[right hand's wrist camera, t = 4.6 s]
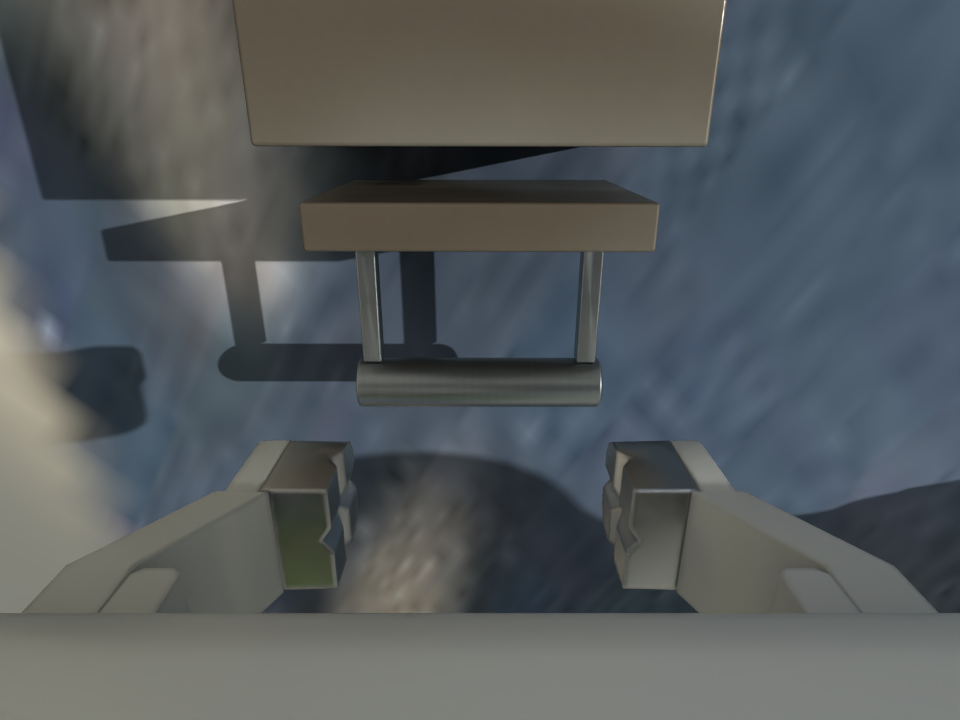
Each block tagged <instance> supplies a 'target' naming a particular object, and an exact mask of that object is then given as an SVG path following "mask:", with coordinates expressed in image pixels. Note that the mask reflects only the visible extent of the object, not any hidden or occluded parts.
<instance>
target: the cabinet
mask: <svg viewBox="0 0 960 720" xmlns="http://www.w3.org/2000/svg"><path fill="white" fill-rule="evenodd" d="M232 1H233V8H234V16H235V23H236V31H237V38H238V46H239V53H240V61H241V68H242V76H243V83H244V91H245V98H246V106H247V113H248V121H249V128H250V136H251V142H252V144H253V145H255V146H447V147H704V146H706V145H707V143H708V136H709V129H710V122H711V114H712V107H713V100H714V92H715V85H716V78H717V70H718V63H719V55H720V48H721V41H722V33H723V26H724V19H725V11H726V4H727V0H232Z"/></svg>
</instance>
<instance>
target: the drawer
mask: <svg viewBox="0 0 960 720" xmlns="http://www.w3.org/2000/svg"><path fill="white" fill-rule="evenodd" d="M659 210H660V205H659V203H656V202H654V201H652V200H649V199H647V198H645V197H643V196H640V195H638V194H636V193H633V192H631V191H629V190H626V189H624V188H622V187H619V186H617V185H615V184H612V183H610V182H608V181H605V180H353V181H350V182H348V183H346V184H343V185H341V186H338V187H336V188H334V189H331V190H329V191H327V192H324V193H322V194H320V195H317V196H315V197H313V198H310V199H308V200H306V201H303V202H301V203H300V204H299V211H300V220H301V229H302V238H303V248H304V250H305V251H355V256H356V269H357V282H358V295H359V308H360V321H361V334H362V347H363V358H361V359H360V360H359V363H358V366H357V373H356V393H357V399H358V402H359V405H360V406H447V407H596V406H598V405H599V404H600V401H601V396H602V370H601V365H600V362H599V360H598V359H597V358H595V356H596V344H597V331H598V319H599V306H600V293H601V281H602V268H603V256H604V252H652V251H654V250H655V246H656V237H657V228H658V219H659ZM378 251H401V252H581V256H580V271H579V286H578V302H577V317H576V332H575V348H574V357H575V358H383V357H384V341H383V325H382V309H381V293H380V277H379V261H378Z"/></svg>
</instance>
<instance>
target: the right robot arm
mask: <svg viewBox="0 0 960 720" xmlns="http://www.w3.org/2000/svg"><path fill="white" fill-rule="evenodd" d="M354 465H355V464H354V455H353V448H352V445H351V443H350V442H334V441H291V440H275V441H261V442H259V443H258V445H257V446H256V448H255V449H254V450H253V452H252V453H251V455H250V456H249V457H248V459H247V460H246V462H245V463H244V464H243V466H242V467H241V469H240V470H239V471H238V473H237V474H236V476H235V477H234V478H233V480H232V481H231V483H230V484H229V486H228V487H227V488H226V490H225V491H215V492H213V493H211V494H209V495H207V496H205V497H203V498H201V499H199V500H197V501H195V502H193V503H191V504H189V505H187V506H185V507H183V508H181V509H179V510H177V511H175V512H173V513H171V514H169V515H167V516H165V517H163V518H161V519H159V520H157V521H155V522H153V523H151V524H149V525H147V526H145V527H143V528H141V529H139V530H137V531H135V532H133V533H131V534H129V535H127V536H124V537H122V538H120V539H118V540H116V541H114V542H112V543H110V544H108V545H106V546H104V547H102V548H100V549H98V550H96V551H94V552H92V553H90V554H88V555H86V556H84V557H82V558H80V559H78V560H76V561H74V562H72V563H70V564H68V565H66V566H65V567H64V568H63V570H62V571H61V572H60V573H59V574H58V575H57V576H56V577H55V578H54V579H53V580H52V581H51V582H50V583H49V584H48V585H47V586H46V587H45V588H44V590H43V591H42V592H41V593H40V594H39V595H38V596H37V597H36V598H35V599H34V600H33V601H32V602H31V603H30V604H29V605H28V606H27V607H26V608H25V610H24V611H23V612H22V613H0V720H960V613H938V612H937V611H936V610H935V608H934V607H933V606H932V605H931V604H930V603H929V602H928V601H927V600H926V599H925V598H924V597H923V596H922V595H921V594H920V593H919V592H918V590H917V589H916V588H915V587H914V586H913V585H912V584H911V583H910V582H909V581H908V580H907V579H906V578H905V577H904V576H903V575H902V573H901V572H900V571H899V570H898V569H897V568H896V567H895V566H893V565H891V564H889V563H887V562H885V561H883V560H881V559H879V558H877V557H875V556H873V555H871V554H869V553H867V552H865V551H863V550H861V549H859V548H857V547H855V546H853V545H851V544H849V543H847V542H845V541H843V540H841V539H839V538H837V537H835V536H833V535H831V534H829V533H827V532H825V531H823V530H821V529H819V528H817V527H815V526H813V525H811V524H809V523H807V522H805V521H803V520H801V519H799V518H797V517H795V516H793V515H791V514H789V513H787V512H785V511H783V510H781V509H779V508H777V507H775V506H773V505H771V504H769V503H767V502H765V501H763V500H761V499H759V498H757V497H755V496H753V495H751V494H749V493H747V492H745V491H735V490H734V489H733V487H732V486H731V484H730V483H729V482H728V480H727V479H726V477H725V476H724V475H723V473H722V472H721V470H720V469H719V468H718V466H717V465H716V463H715V462H714V461H713V459H712V458H711V456H710V455H709V454H708V452H707V451H706V449H705V448H704V447H703V445H702V444H701V443H700V442H699V441H696V440H684V441H636V442H611V443H609V444H608V448H607V453H606V463H605V465H606V468H607V471H608V474H609V476H610V480H609V481H608V482H607V483H606V484H605V486H604V487H603V499H602V511H603V523H604V529H605V533H606V537H607V540H608V542H610V543H611V544H612V545H614V546H615V548H614V558H613V560H614V563H615V566H616V569H617V572H618V575H619V578H620V581H621V584H622V588H631V589H668V590H676V592H677V593H678V594H679V595H680V596H681V597H682V598H683V599H684V600H685V601H686V602H688V603H689V604H690V605H691V606H692V607H693V608H694V609H695V610H696V611H697V612H699V613H262V612H263V611H264V610H265V609H266V608H267V607H268V606H269V605H270V604H272V603H273V602H274V601H275V600H276V599H277V598H278V597H279V596H280V595H281V594H283V593H284V592H283V590H292V589H328V588H338V584H339V581H340V578H341V575H342V572H343V569H344V566H345V562H346V549H345V546H346V545H347V544H349V543H350V542H351V541H352V540H353V536H354V533H355V529H356V521H357V514H358V498H357V487H356V486H355V484H354V483H353V482H352V481H351V480H350V476H351V473H352V471H353V468H354Z"/></svg>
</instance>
